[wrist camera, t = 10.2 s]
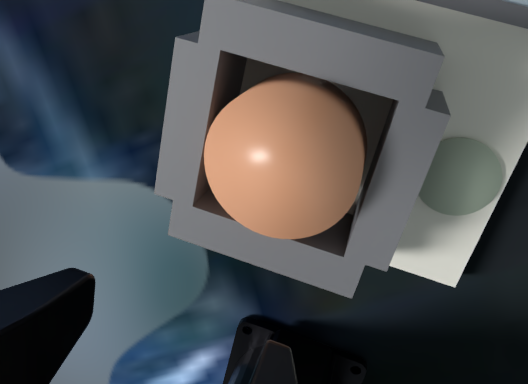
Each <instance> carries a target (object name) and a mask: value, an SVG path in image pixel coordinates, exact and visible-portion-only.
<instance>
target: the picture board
mask: <svg viewBox="0 0 528 384" xmlns="http://www.w3.org/2000/svg"><path fill="white" fill-rule="evenodd" d="M283 73H303V74H307V75H310V76H314V77H317V78H321V79H324V80H327V81H329V82H331V83H332V84H334V85H335V86H337V87H338V88H339V89H341V90H342V91H343V92H344V93H345V94H346V95H347V96H348V97H349V98H350V99H351V101H352V102H353V103H354V104H355V106H356V108H357V109H358V111H359V113H360V115H361V117H362V119H363V122H364V125H365V129H366V135H367V154H366V160H365V165H364V170H363V174H362V179H361V184H360V187H359V191H358V194H357V196H356V198H355V201H354V203H353V204H352V206H351V207H350V209H349V210H348V212H347V213H346V214H345V215H344V216H343V218H341V219H340V220H339V221H338V222H337V223H336V224H335V225H333V226H332V227H330V228H329V229H327V230H325V231H323V232H321V233H319V234H316V235H313V236H310V237H306V238H301V239H278V238H272V237H268V236H265V235H261V234H259V233H256V232H254V231H252V230H250V229H248V228H246V227H244V226H243V225H242V224H240V223H239V222H237V221H236V220H235V219H234V218H232V217H231V216H230V215H229V214H228V213H227V212H226V211H225V210H224V208H223V207H222V206H221V205H220V203H219V202H218V201H217V199H216V197H215V195H214V194H213V192H212V190H211V187H210V185H209V183H208V179H207V176H206V172H205V165H204V149H205V142H206V138H207V134H208V132H209V129H210V127H211V125H212V123H213V122H214V120H215V118H216V117H217V115H218V114H219V113H220V112H221V110H222V109H223V108H224V107H225V106H226V105H227V104H229V103H230V102H231V101H233V100H234V99H235V98H237V97H238V96H240V95H241V94H243V93H244V92H245V91H247V90H248V89H250V88H251V87H253V86H254V85H255V84H257V83H258V82H260V81H262V80H264V79H266V78H268V77H271V76H274V75H278V74H283ZM527 142H528V0H205V1H204V8H203V14H202V20H201V27H200V31H198V32H194V33H190V34H186V35H182V36H178V37H175V45H174V52H173V59H172V67H171V74H170V81H169V89H168V96H167V103H166V111H165V118H164V125H163V133H162V140H161V147H160V154H159V162H158V169H157V176H156V184H155V191H154V194H156V195H159V196H162V197H165V198H168V199H171V200H173V204H172V211H171V217H170V223H169V230H168V235H169V236H172V237H175V238H178V239H181V240H184V241H187V242H190V243H192V244H195V245H198V246H201V247H204V248H207V249H210V250H213V251H216V252H218V253H221V254H224V255H227V256H230V257H233V258H236V259H239V260H241V261H244V262H247V263H250V264H253V265H256V266H259V267H262V268H265V269H267V270H270V271H273V272H276V273H279V274H282V275H285V276H288V277H291V278H293V279H296V280H299V281H302V282H305V283H308V284H311V285H314V286H316V287H319V288H322V289H325V290H328V291H331V292H334V293H337V294H340V295H342V296H345V297H348V298H351V299H352V297H353V295H354V292H355V289H356V287H357V284H358V282H359V279H360V276H361V274H362V271H363V269H364V266H365V265H368V266H371V267H374V268H377V269H380V270H383V271H386V272H387V270H388V267H389V266H392V267H395V268H398V269H401V270H404V271H407V272H410V273H413V274H416V275H419V276H422V277H425V278H428V279H431V280H434V281H437V282H440V283H443V284H446V285H449V286H452V287H455V286H456V284H457V282H458V280H459V278H460V276H461V274H462V272H463V270H464V268H465V266H466V264H467V262H468V260H469V258H470V256H471V254H472V252H473V250H474V248H475V246H476V244H477V242H478V240H479V238H480V236H481V234H482V232H483V230H484V228H485V226H486V224H487V222H488V220H489V218H490V216H491V214H492V212H493V210H494V208H495V206H496V204H497V202H498V200H499V198H500V196H501V194H502V192H503V190H504V188H505V186H506V184H507V182H508V180H509V178H510V176H511V174H512V172H513V170H514V168H515V166H516V164H517V162H518V160H519V158H520V156H521V154H522V152H523V150H524V148H525V146H526V144H527Z"/></svg>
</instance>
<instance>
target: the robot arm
mask: <svg viewBox="0 0 528 384" xmlns="http://www.w3.org/2000/svg"><path fill="white" fill-rule="evenodd" d="M94 292H95V278H94V276H93V275H92V274H90V273H87V272H85V271H82V270H79V269H76V268H68V269H65V270H61V271H58V272H55V273H52V274H49V275H46V276H43V277H40V278H37V279H34V280H31V281H27V282H24V283H21V284H18V285H15V286H12V287H9V288H6V289H3V290H0V384H49V383H50V382H51V380H52V378H53V377H54V376H55V374H56V373H57V371H58V370H59V368H60V367H61V365H62V363H63V362H64V360H65V359H66V357H67V356H68V354H69V353H70V351H71V350H72V348H73V347H74V345H75V344H76V342H77V341H78V339H79V338H80V336H81V335H82V333H83V332H84V330H85V329H86V327H87V326H88V324H89V322H90V320H91V317H92V313H93V305H94ZM245 326H248V327H250V328H251V330H250V329H247V328H246V327H245ZM353 366H357V367H359V368H358V369H356V368H354V367H353ZM366 369H367V364H366V361H365V360H364V359H362V358H361V357H358V356H356V355H353V354H350V353H347V352H345V351H342V350H339V349H336V348H333V347H331V346H328V345H325V344H322V343H320V342H317V341H314V340H311V339H309V338H306V337H303V336H300V335H298V334H295V333H292V332H289V331H287V330H284V329H281V328H278V327H276V326H273V325H270V324H267V323H265V322H262V321H259V320H256V319H254V318H250V317H245V318H243V319H241V321H240V323H239V325H238V327H237V331H236V335H235V339H234V343H233V347H232V350H231V354H230V358H229V362H228V366H227V370H226V374H225V377H224V381H223V384H362V382H363V379H364V377H365V375H366Z"/></svg>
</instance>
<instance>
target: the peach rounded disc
mask: <svg viewBox="0 0 528 384" xmlns="http://www.w3.org/2000/svg"><path fill="white" fill-rule="evenodd" d="M366 154H367V135H366V129H365V125H364V122H363V119H362V117H361V115H360V113H359V111H358V109H357V108H356V106H355V104H354V103H353V102H352V101H351V99H350V98H349V97H348V96H347V95H346V94H345V93H344V92H343V91H342V90H341V89H339V88H338V87H337V86H335V85H334V84H332V83H331V82H329V81H327V80H324V79H321V78H317V77H314V76H310V75H307V74H303V73H283V74H278V75H274V76H271V77H268V78H266V79H264V80H262V81H260V82H258V83H257V84H255V85H254V86H253V87H251V88H250V89H248V90H247V91H245V92H244V93H243V94H241V95H240V96H238V97H237V98H235V99H234V100H233V101H231V102H230V103H229V104H227V105H226V106H225V107H224V108H223V109H222V110H221V112H220V113H219V114H218V115H217V117H216V118H215V120H214V122H213V123H212V125H211V127H210V129H209V132H208V134H207V138H206V142H205V149H204V165H205V172H206V176H207V179H208V183H209V185H210V187H211V190H212V192H213V194H214V195H215V197H216V199H217V201H218V202H219V203H220V205H221V206H222V207H223V208H224V210H225V211H226V212H227V213H228V214H229V215H230V216H231V217H232V218H234V219H235V220H236V221H237V222H239V223H240V224H242V225H243V226H244V227H246V228H248V229H250V230H252V231H254V232H256V233H259V234H261V235H265V236H268V237H272V238H278V239H301V238H306V237H310V236H313V235H316V234H319V233H321V232H323V231H325V230H327V229H329V228H330V227H332V226H333V225H335V224H336V223H337V222H338V221H339V220H340V219H341V218H343V216H344V215H345V214H346V213H347V212H348V210H349V209H350V207H351V206H352V204H353V203H354V201H355V198H356V196H357V194H358V191H359V187H360V184H361V179H362V174H363V170H364V165H365V160H366Z"/></svg>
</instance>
